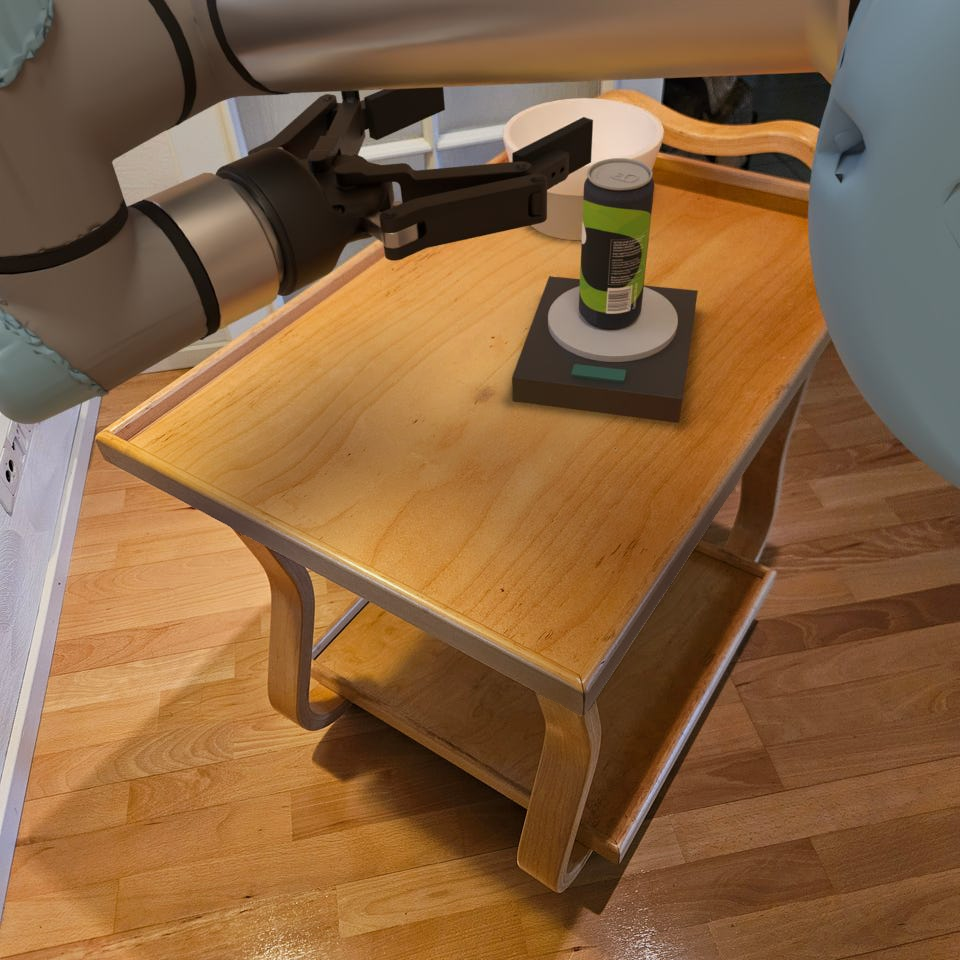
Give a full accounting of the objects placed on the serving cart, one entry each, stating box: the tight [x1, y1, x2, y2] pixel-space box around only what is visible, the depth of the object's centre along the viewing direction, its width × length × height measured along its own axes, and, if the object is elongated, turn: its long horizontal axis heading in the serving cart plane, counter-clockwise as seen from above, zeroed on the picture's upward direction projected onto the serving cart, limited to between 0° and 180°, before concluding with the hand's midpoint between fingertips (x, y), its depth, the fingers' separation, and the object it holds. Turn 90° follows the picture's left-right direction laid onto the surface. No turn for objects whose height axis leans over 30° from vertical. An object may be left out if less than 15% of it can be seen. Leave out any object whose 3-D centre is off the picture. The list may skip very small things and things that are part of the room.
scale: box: [511, 275, 699, 424], centre depth 84 cm, size 16×18×4 cm
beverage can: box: [579, 158, 655, 330], centre depth 78 cm, size 6×6×15 cm
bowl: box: [502, 97, 665, 241], centre depth 102 cm, size 19×19×11 cm
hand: (509, 112), depth 56 cm, fingers open, 13 cm apart
